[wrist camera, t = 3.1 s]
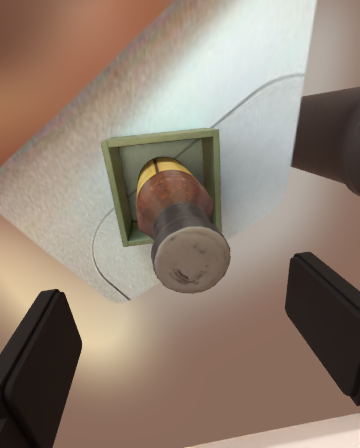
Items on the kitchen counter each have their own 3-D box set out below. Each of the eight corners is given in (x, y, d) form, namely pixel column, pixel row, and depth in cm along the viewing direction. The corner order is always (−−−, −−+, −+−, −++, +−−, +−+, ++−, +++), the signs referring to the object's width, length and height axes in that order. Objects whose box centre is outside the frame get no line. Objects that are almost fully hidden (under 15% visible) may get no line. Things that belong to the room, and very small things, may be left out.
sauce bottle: (149, 210, 31) (145, 331, 13) (130, 164, 29) (94, 237, 11) (196, 193, 31) (257, 293, 13) (181, 146, 29) (232, 189, 11)
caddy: (206, 127, 28) (219, 129, 23) (210, 215, 33) (221, 234, 27) (110, 137, 27) (100, 141, 22) (128, 225, 32) (123, 247, 26)
